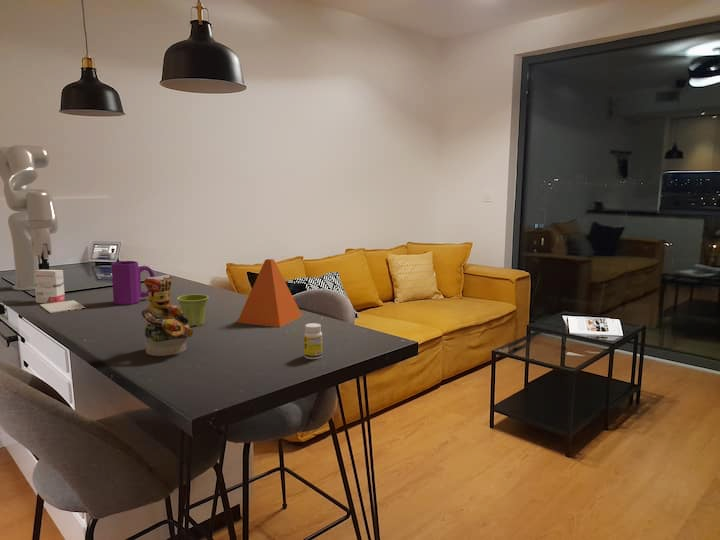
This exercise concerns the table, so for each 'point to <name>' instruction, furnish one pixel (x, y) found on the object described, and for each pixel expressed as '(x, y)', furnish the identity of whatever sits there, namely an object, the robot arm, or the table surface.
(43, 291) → the ink box
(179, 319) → the figurine
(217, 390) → the table surface
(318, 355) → the supplement bottle
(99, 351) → the table surface
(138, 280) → the mug
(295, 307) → the pyramid
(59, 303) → the mat
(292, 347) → the table surface
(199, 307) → the plant pot
